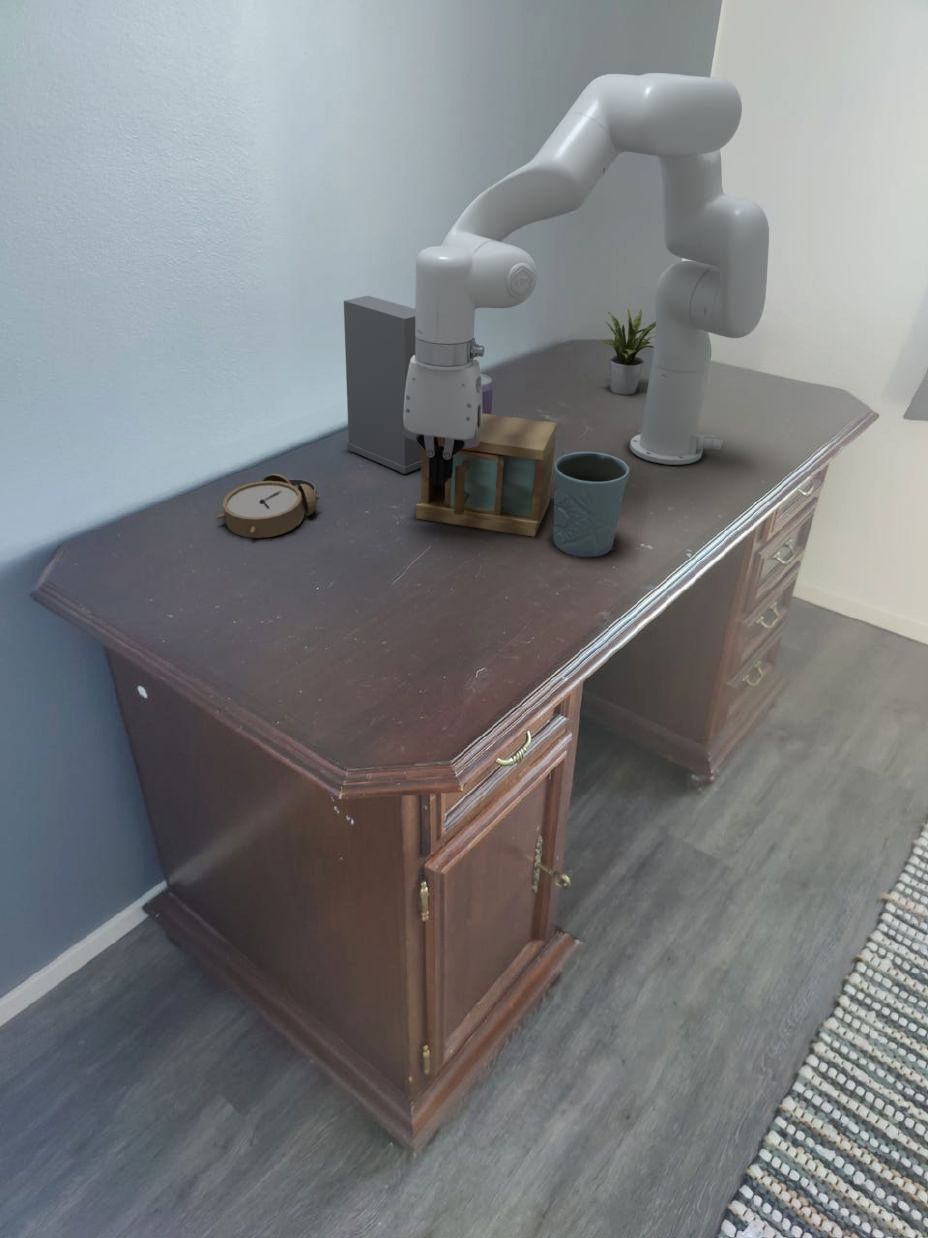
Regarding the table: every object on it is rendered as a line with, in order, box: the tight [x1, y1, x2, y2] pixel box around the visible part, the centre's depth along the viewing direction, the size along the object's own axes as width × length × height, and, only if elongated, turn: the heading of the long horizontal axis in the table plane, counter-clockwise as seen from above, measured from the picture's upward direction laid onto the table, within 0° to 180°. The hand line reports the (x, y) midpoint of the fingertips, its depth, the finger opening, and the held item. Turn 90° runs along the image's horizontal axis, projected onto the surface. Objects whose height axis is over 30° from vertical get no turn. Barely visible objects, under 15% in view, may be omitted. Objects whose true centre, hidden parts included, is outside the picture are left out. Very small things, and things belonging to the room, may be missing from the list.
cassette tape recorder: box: [343, 295, 422, 475], centre depth 144 cm, size 14×6×25 cm, turn 48°
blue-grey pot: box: [552, 451, 630, 558], centre depth 125 cm, size 10×10×12 cm
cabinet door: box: [445, 449, 505, 516], centre depth 127 cm, size 8×5×9 cm, turn 75°
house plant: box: [599, 309, 656, 396], centre depth 179 cm, size 14×14×16 cm
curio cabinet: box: [415, 413, 558, 538], centre depth 132 cm, size 18×12×13 cm, turn 75°
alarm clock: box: [216, 473, 321, 539], centre depth 131 cm, size 11×5×15 cm
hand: (440, 481), depth 125 cm, fingers closed
